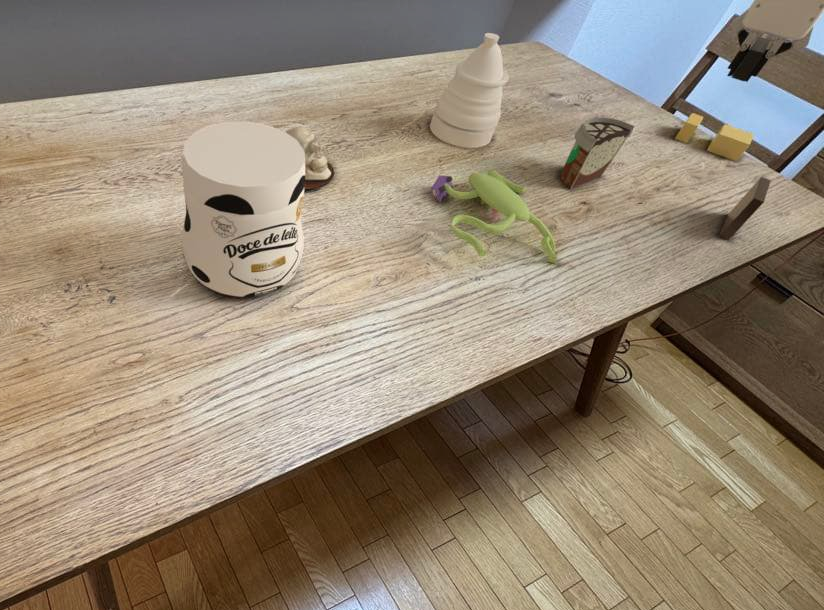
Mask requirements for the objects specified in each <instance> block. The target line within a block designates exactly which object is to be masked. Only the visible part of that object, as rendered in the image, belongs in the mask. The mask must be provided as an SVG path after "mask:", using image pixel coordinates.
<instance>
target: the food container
mask: <svg viewBox="0 0 824 610" xmlns="http://www.w3.org/2000/svg"><path fill="white" fill-rule="evenodd" d="M635 127H636V126H635V125H634V124H631V123H629V122H626V121H623V120H620V119H616V118H611V117H605V116H604V117H603V116H601V117H600V116H597V117H591V118H588V119H586V120H585V122H583V123H582V124H581V125H580V127H579V128H578V129H577V130H576V131H575V134H574V140H575V142H574V143H573V146H572V148H571V150H570V152H569V154H568V157H567V159H566V161H565V164H564V166H563V168H562V170H561V172H560V175H559V178H560V181H561V183H562V184H563V185H564V186H565V187H566V188H568V189H569V190H572V189H573V188H576V187H579V186H581V185H584V184H586V183H590V182H592V181H594V180H596V179H599V178H602V177H603V176H604V174H605V172H606V171H607V169H608V167H609V166H610V164H611V163H612V162H613V161H614V159H615V157H616V156H617V154H618V153H619V151H620V150H621V148H622V146H623V145H624V144H625V142H626V140H627V139H628V138H630V137H631V135H632V133H633V132H634V129H635Z"/></svg>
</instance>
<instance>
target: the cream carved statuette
mask: <svg viewBox="0 0 824 610" xmlns="http://www.w3.org/2000/svg"><path fill="white" fill-rule="evenodd" d="M285 132H286V133H287V134H289V135H290V136H292V137H293V138H295V139H296V140H297V141H298V142H299V144H300V145H301V147H302V148H303V149H304V152H305V185H304V190H309V189H316V188H320V187H322V186H324V185H326V184H328V183H329V182H331V181H332V180H333V178H334V175H335V169H334V167H333V166H332V165H331V163H330V162H328V159H327V157H326V156H325V155H324V153H323V151H322V147H321V145H320V144H319V143H318V142H317V136H316V134H315V133H313V132H312V131H311V130H310V129H308V128H307V127H304V126H295V127H292V128H289V129H288V130H286V131H285Z"/></svg>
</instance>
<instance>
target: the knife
mask: <svg viewBox="0 0 824 610" xmlns="http://www.w3.org/2000/svg"><path fill="white" fill-rule="evenodd" d="M768 35H769V34H766V33H763V35H762V36H758V35H757V36H756V37H755V39H754V40H753V42H752V43H751V47H750V48H749V51H748V53H747V55H746V56H745V57H744V59H743V60H742V62H741V63H740V65H739V66H738V67H737V69H736V70H735V72H734V73H733V75H732V76H730V78H731V79H734V80H738V81H741V82H746V81H745V79H746V78H747V77H748V75H749V74H750V72H751V71H752V70H753V68H754V67H755V66H756V64H757V63H758V61H759V60H760V59H761V57H762V56H763V55H764V53H765V51H766V50H767V49H768V47H769V45H770V42H771V39H770V38H767V37H768Z"/></svg>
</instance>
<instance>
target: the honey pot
mask: <svg viewBox="0 0 824 610" xmlns="http://www.w3.org/2000/svg"><path fill="white" fill-rule="evenodd" d="M499 40H500V35H498V34H496V33H492V32H486V33H484V36H483V42H482V43H481V44H480V45H478V46H477V47H476V48H475V49H473V51H472V52H471V53H470V54H469V56H468V57H466V59H465V60H463V61H461V62H459V63H458V64H457V65H456V67H455V74H454V76H453V78H452V79H450V80H449V82H448V84H447V86H446V87H445V89H444V91H443V92H442V94H441V95H440V96H439V97H438V99H437V101H436V104H435V105H436V106H435V107H434V111H433V114H432V117H431V120H430V123H429V129H430V131H431V133H432V134H433V135H434V136H435V137H436V138H438V139H439V140H441V141H442V142H444V143H446V144H448V145H452V146H456V147H460V148H465V149H466V148H469V149H475V148H482V147H484V146H486V145H488V144H489V143H490V142H491V140H492V138H493V136H494V133H495V131H496V128H497V126H498V123H499V120H500V119H501V115H502V110H501V107H502V104H503V103H502V100H503V97H504V94H503V86H505V85H506V84H507V83H508V81H509V78H510V77H509V73H508V72H507V71H506V70H505V69H504V63H503V61H504V60H503V55H502V51H501V47H500V45H499V44H498V42H499Z"/></svg>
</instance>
